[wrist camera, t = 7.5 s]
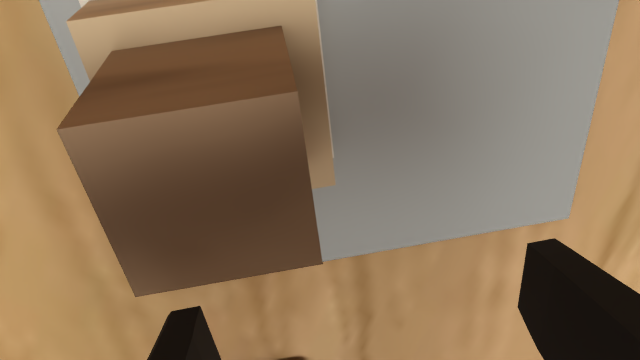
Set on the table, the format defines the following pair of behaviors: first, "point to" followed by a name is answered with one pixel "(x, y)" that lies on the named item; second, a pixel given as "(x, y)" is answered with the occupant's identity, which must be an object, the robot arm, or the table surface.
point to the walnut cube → (197, 160)
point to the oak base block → (209, 20)
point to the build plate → (443, 113)
